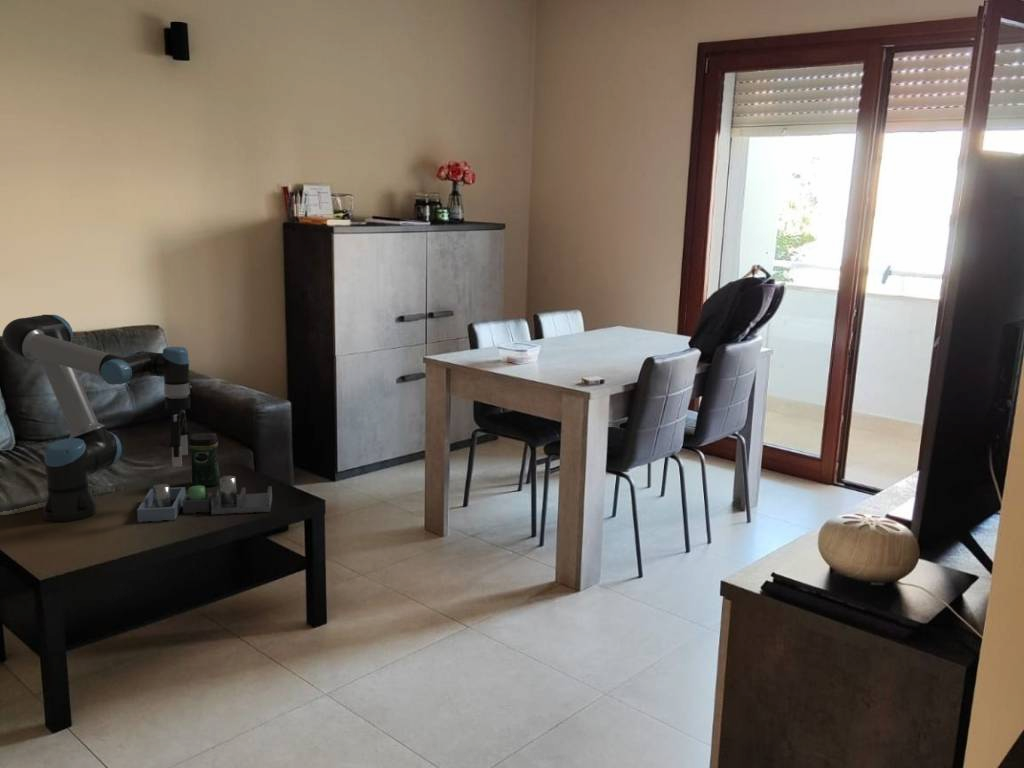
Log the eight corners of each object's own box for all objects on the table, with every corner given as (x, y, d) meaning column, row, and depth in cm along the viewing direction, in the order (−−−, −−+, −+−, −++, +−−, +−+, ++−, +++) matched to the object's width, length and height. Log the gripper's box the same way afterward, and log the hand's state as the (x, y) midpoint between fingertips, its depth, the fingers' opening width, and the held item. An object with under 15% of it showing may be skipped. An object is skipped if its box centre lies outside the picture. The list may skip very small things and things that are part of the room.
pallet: (211, 515, 282) (210, 501, 281) (216, 501, 295) (215, 488, 294) (269, 511, 285) (269, 498, 284) (272, 498, 299) (271, 485, 298)
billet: (153, 512, 283) (151, 489, 282) (156, 508, 288) (154, 484, 287) (169, 512, 284) (168, 488, 283) (172, 507, 289) (170, 483, 288)
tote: (137, 522, 274) (137, 510, 274) (151, 500, 296) (150, 488, 295) (175, 520, 277) (174, 507, 276) (185, 498, 298) (185, 487, 297)
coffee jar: (222, 480, 318) (219, 430, 315) (216, 487, 311) (214, 436, 307) (195, 481, 318) (192, 430, 314) (188, 487, 310) (185, 436, 306)
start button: (188, 508, 284) (187, 490, 283) (190, 503, 289) (189, 485, 288) (204, 507, 285) (203, 489, 284) (206, 502, 290) (205, 485, 289)
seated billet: (220, 504, 286) (218, 480, 285) (221, 499, 291) (220, 476, 289) (236, 503, 287) (234, 479, 286) (237, 498, 292) (236, 475, 290)
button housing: (183, 513, 283) (182, 501, 282) (186, 505, 290) (186, 494, 290) (209, 512, 284) (208, 500, 284) (212, 504, 292) (211, 492, 291)
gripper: (184, 404, 269) (187, 471, 273) (194, 388, 293) (197, 449, 297) (158, 404, 267) (161, 471, 271) (171, 388, 291) (173, 450, 295)
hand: (180, 460), depth 284 cm, fingers open, 13 cm apart
